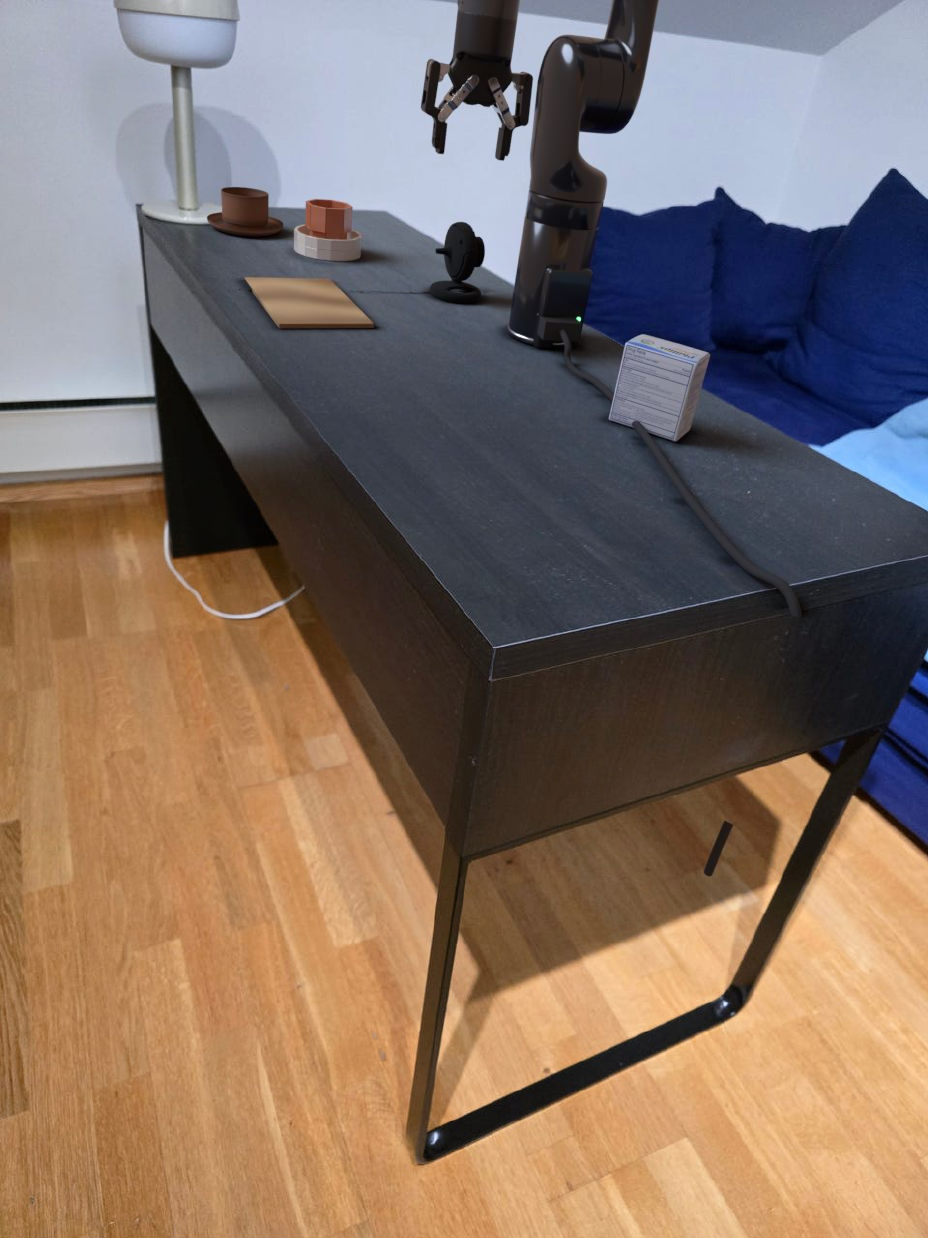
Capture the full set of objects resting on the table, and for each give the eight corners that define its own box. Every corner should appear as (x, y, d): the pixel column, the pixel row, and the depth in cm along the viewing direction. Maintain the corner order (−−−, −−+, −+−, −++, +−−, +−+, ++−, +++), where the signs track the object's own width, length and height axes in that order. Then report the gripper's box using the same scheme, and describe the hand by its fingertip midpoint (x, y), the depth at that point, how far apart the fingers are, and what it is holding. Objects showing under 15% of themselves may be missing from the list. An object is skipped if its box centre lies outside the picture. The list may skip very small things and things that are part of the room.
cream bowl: (368, 265, 136) (370, 241, 134) (304, 263, 132) (304, 238, 130) (349, 248, 143) (350, 225, 141) (287, 246, 139) (287, 222, 137)
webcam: (489, 304, 126) (499, 229, 120) (442, 304, 123) (450, 228, 117) (467, 288, 132) (475, 216, 126) (421, 288, 129) (427, 214, 123)
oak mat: (373, 328, 111) (374, 323, 110) (279, 328, 106) (279, 323, 106) (329, 282, 125) (329, 278, 125) (244, 281, 121) (244, 276, 120)
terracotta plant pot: (354, 258, 136) (356, 209, 132) (312, 257, 134) (313, 207, 130) (342, 247, 141) (343, 200, 137) (301, 246, 138) (302, 197, 134)
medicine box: (690, 432, 94) (712, 352, 90) (675, 444, 91) (698, 362, 86) (623, 410, 97) (641, 332, 93) (606, 420, 94) (625, 340, 89)
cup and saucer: (198, 223, 145) (197, 182, 141) (270, 224, 150) (269, 185, 147) (219, 241, 136) (217, 198, 133) (293, 242, 142) (293, 201, 138)
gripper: (440, 5, 104) (425, 156, 114) (551, 22, 109) (528, 167, 118) (425, 0, 110) (412, 145, 119) (531, 17, 114) (510, 155, 124)
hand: (469, 156), depth 119 cm, fingers open, 8 cm apart
